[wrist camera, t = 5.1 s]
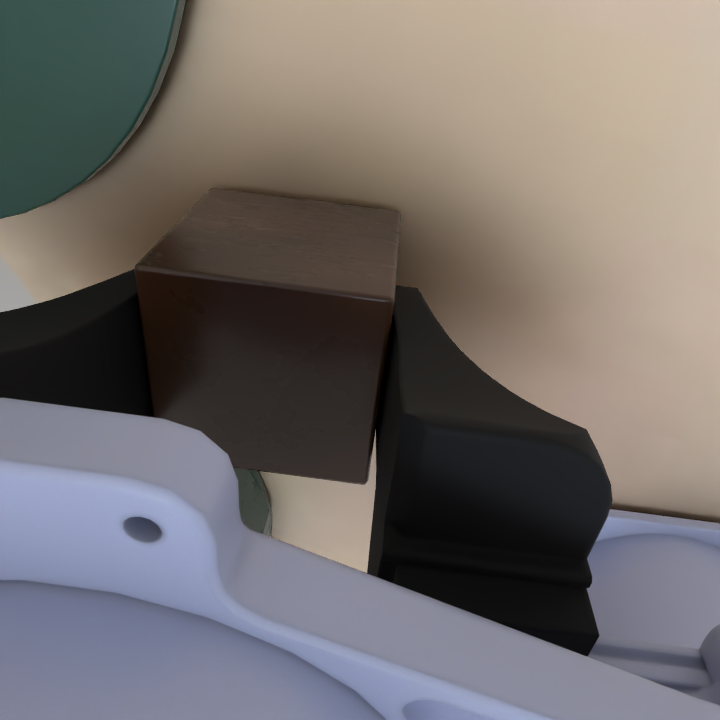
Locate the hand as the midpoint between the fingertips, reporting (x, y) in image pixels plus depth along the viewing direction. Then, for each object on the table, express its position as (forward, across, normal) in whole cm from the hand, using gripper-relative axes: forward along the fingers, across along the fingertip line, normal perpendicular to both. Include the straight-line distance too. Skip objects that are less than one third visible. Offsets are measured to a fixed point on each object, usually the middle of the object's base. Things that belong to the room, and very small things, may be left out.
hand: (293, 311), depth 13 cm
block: (+1, 0, 0) cm, 1 cm away
